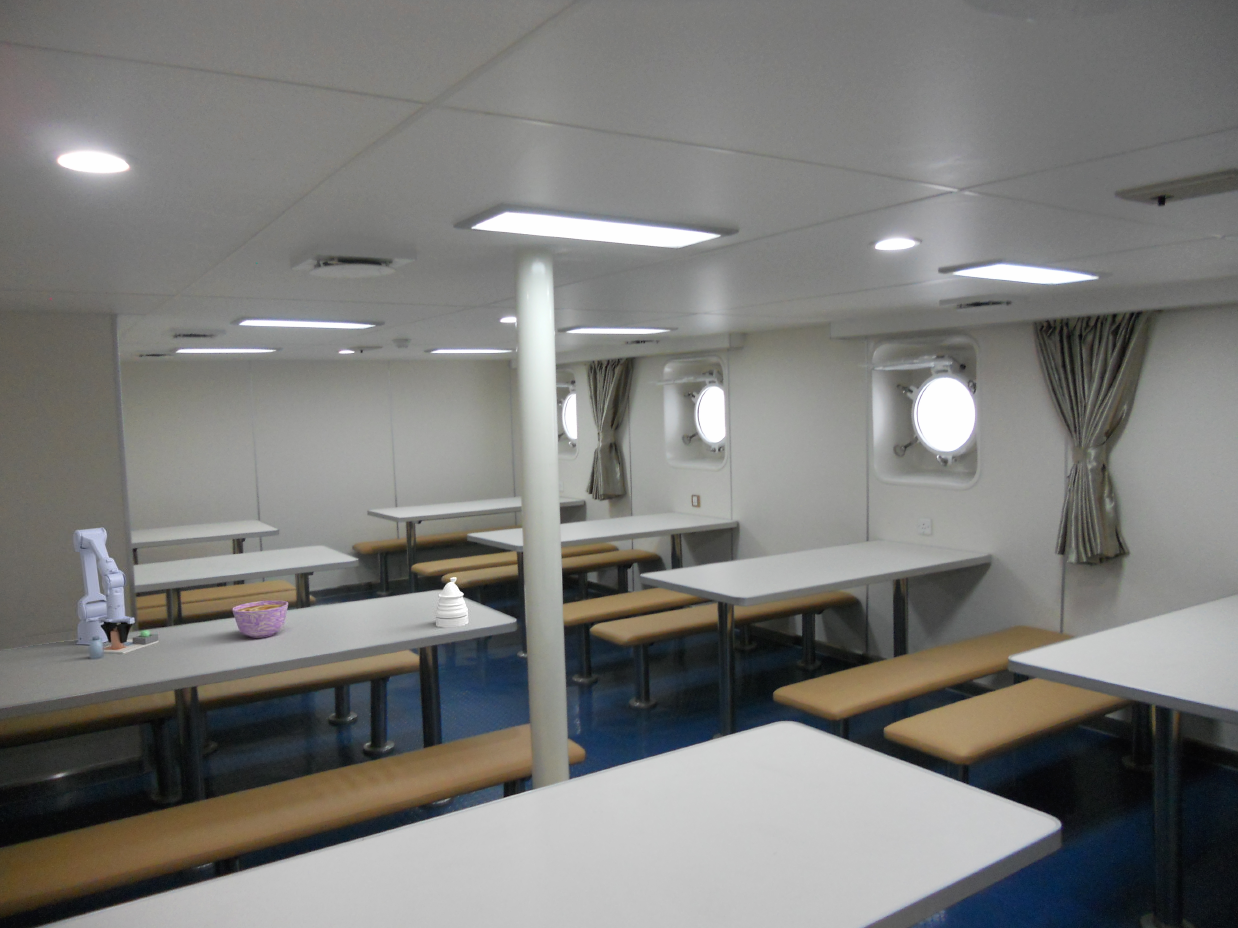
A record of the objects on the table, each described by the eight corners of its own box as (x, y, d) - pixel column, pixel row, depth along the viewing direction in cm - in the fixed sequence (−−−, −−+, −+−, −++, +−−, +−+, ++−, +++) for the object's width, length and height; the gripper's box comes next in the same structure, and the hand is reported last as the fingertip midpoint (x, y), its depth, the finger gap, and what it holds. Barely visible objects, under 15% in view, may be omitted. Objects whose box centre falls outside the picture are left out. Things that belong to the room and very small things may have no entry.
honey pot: (449, 618, 340) (447, 575, 339) (475, 621, 334) (473, 576, 333) (429, 625, 328) (427, 580, 327) (455, 628, 322) (453, 582, 321)
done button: (139, 639, 313) (138, 631, 313) (145, 637, 316) (145, 629, 316) (145, 639, 312) (145, 631, 312) (151, 637, 315) (151, 629, 315)
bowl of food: (291, 626, 334) (290, 598, 334) (287, 638, 315) (286, 608, 315) (237, 632, 328) (235, 603, 328) (230, 644, 309) (228, 613, 309)
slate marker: (87, 658, 295) (86, 638, 295) (97, 655, 299) (96, 635, 299) (96, 659, 294) (95, 638, 294) (106, 656, 298) (104, 635, 298)
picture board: (92, 651, 305) (92, 643, 305) (129, 640, 320) (128, 632, 320) (123, 653, 301) (122, 645, 301) (158, 642, 316) (158, 634, 316)
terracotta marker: (108, 649, 305) (107, 629, 305) (118, 646, 309) (117, 626, 308) (117, 649, 304) (115, 629, 303) (126, 647, 308) (125, 627, 307)
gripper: (90, 607, 304) (92, 644, 304) (122, 608, 300) (124, 645, 301) (106, 603, 311) (109, 639, 311) (138, 604, 307) (140, 640, 307)
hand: (117, 642), depth 306 cm, fingers open, 5 cm apart
